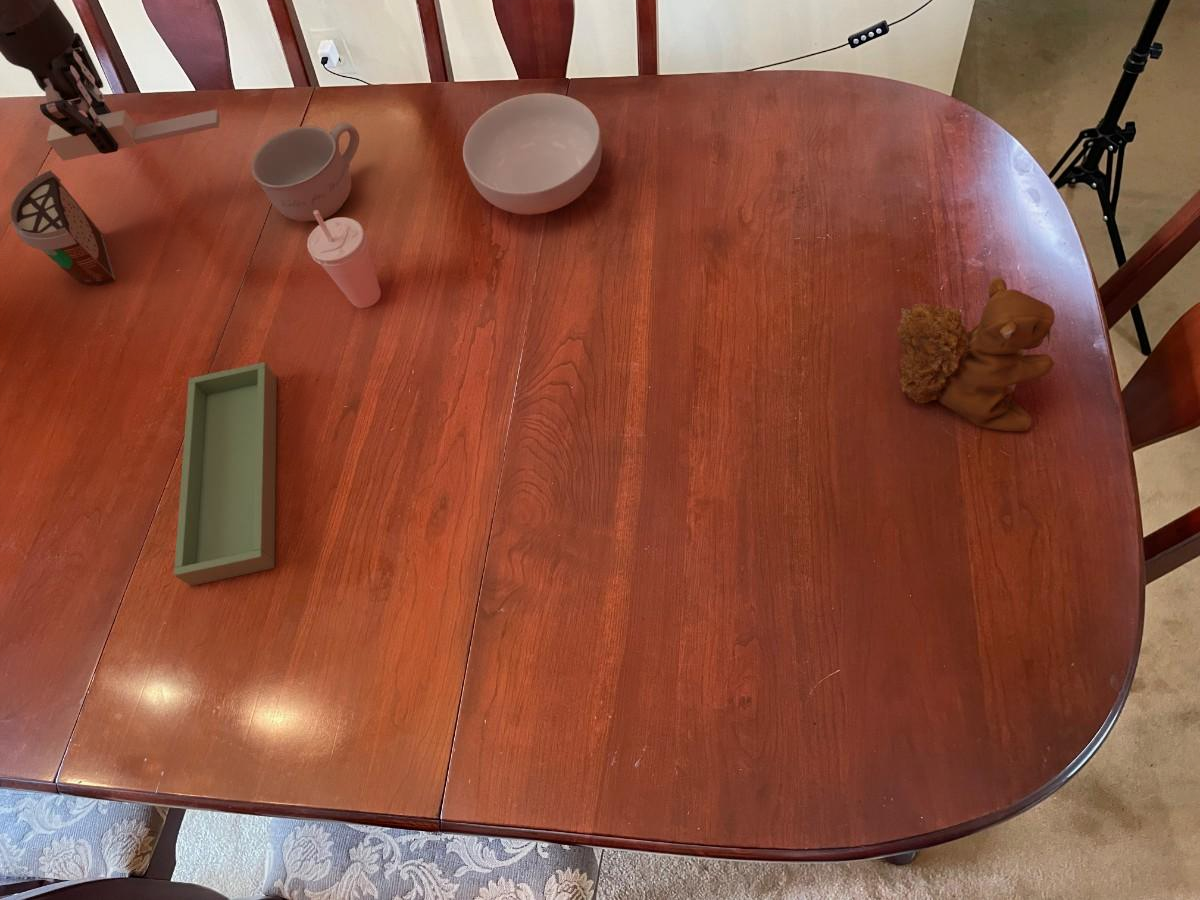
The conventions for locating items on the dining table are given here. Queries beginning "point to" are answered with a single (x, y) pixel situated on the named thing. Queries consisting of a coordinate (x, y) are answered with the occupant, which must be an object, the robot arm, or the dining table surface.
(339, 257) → the smoothie
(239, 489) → the tray
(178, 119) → the grey block with handle
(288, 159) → the teacup
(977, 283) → the dining table surface
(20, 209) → the food container
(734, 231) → the dining table surface
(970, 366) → the stuffed squirrel
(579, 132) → the cereal bowl
